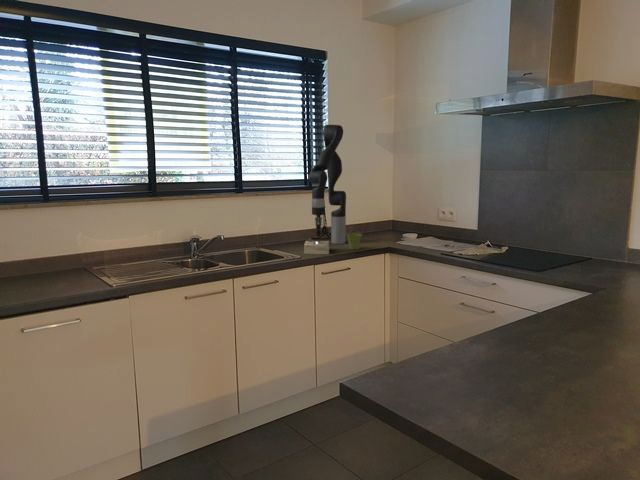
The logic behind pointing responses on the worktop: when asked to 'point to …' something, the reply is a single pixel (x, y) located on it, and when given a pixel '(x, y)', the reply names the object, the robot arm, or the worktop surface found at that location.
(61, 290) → the worktop surface
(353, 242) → the plant pot
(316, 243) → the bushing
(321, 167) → the robot arm
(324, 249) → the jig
